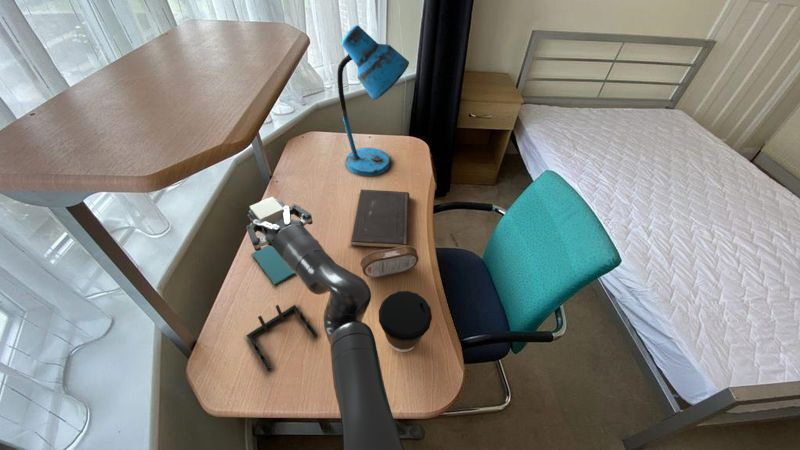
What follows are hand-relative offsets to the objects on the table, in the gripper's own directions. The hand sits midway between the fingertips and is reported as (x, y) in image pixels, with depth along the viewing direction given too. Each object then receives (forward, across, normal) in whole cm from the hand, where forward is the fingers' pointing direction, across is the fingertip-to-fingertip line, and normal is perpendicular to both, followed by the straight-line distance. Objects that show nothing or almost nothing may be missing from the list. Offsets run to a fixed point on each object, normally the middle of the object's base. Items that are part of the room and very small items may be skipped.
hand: (263, 208), depth 75 cm
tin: (-22, +20, -19) cm, 35 cm away
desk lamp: (+20, +48, -19) cm, 55 cm away
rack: (-21, -10, -18) cm, 30 cm away
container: (-3, 0, -7) cm, 7 cm away
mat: (0, +1, -18) cm, 18 cm away
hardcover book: (-6, +31, -19) cm, 37 cm away
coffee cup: (-38, +10, -19) cm, 44 cm away
